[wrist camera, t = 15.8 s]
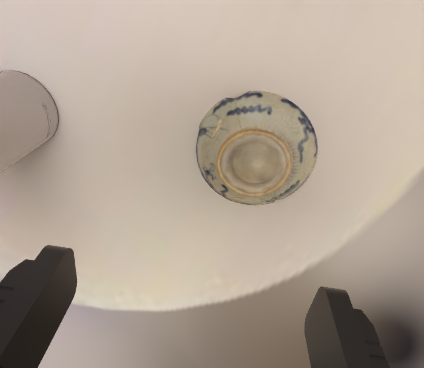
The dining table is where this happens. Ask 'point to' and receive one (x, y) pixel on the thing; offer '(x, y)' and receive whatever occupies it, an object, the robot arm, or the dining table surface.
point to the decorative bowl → (256, 148)
